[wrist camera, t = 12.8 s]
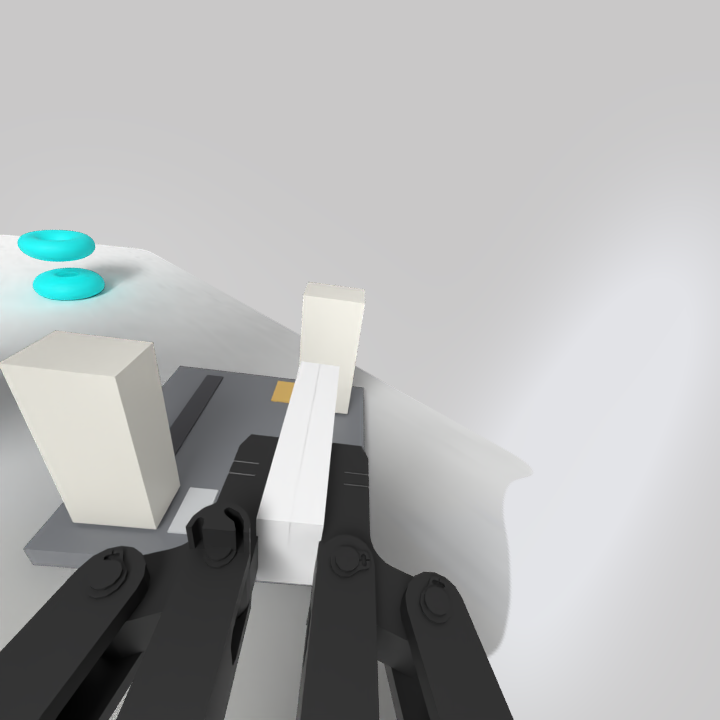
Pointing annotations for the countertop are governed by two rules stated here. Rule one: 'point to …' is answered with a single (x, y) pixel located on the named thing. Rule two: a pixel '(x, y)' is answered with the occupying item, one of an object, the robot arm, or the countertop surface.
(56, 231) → the donuts
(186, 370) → the switch panel
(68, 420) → the block
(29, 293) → the countertop surface
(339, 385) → the cream white tall block
